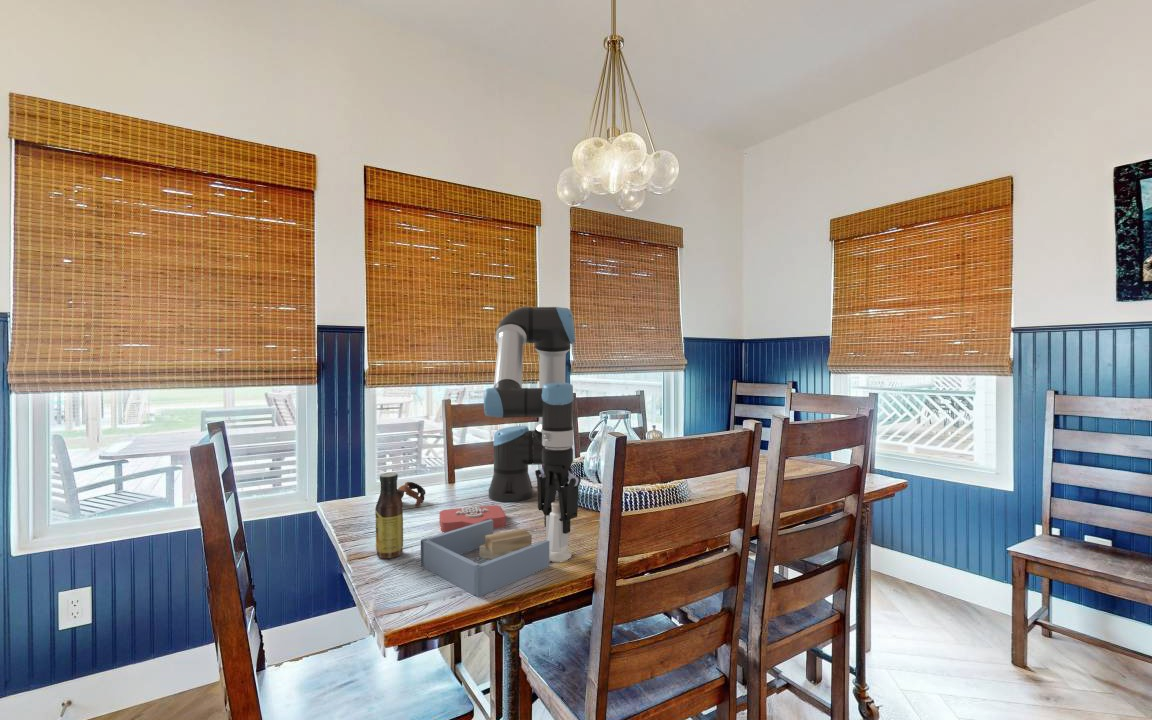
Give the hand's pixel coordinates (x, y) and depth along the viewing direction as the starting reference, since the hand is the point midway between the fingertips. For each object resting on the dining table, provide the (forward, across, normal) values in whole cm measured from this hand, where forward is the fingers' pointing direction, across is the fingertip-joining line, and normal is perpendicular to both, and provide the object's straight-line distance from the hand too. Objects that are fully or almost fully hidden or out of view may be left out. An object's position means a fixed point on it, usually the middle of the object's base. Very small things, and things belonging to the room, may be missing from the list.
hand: (557, 543), depth 125 cm
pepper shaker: (+1, 0, 0) cm, 1 cm away
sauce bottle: (+3, -30, -28) cm, 41 cm away
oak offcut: (+1, -8, -8) cm, 12 cm away
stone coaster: (+3, 0, 0) cm, 3 cm away
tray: (+3, -8, -16) cm, 18 cm away
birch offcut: (+4, -8, -8) cm, 12 cm away
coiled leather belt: (+4, -63, -5) cm, 64 cm away
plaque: (+4, -33, -1) cm, 34 cm away
